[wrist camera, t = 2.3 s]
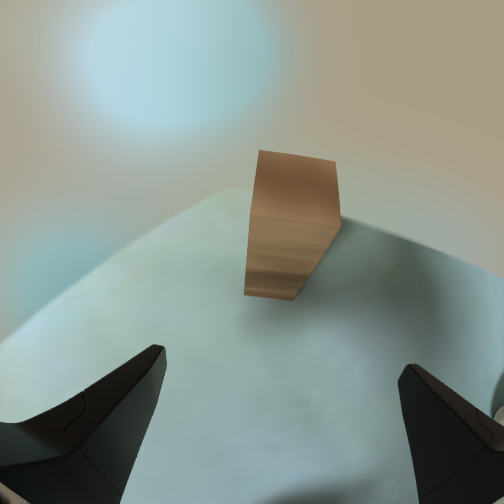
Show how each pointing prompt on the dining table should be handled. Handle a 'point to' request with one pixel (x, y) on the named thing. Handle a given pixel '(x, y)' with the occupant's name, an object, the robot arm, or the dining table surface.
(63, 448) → the robot arm
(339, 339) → the dining table surface
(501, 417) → the donut
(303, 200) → the walnut block
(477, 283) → the dining table surface
